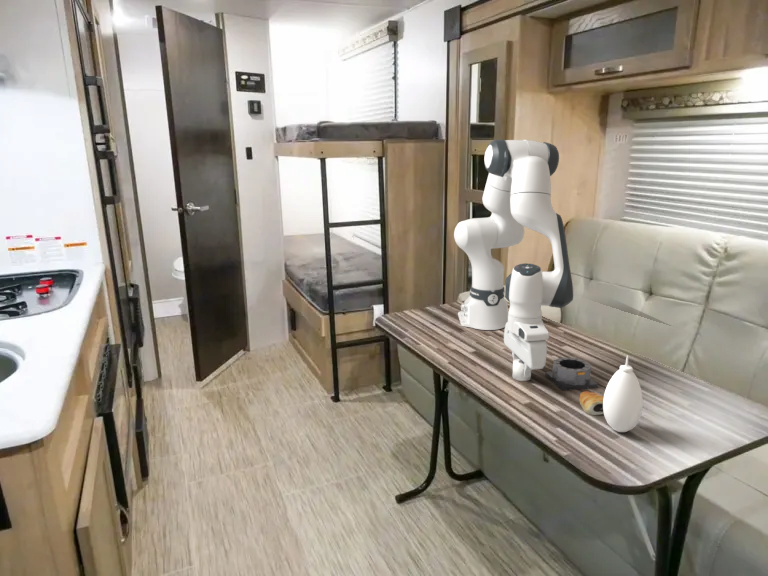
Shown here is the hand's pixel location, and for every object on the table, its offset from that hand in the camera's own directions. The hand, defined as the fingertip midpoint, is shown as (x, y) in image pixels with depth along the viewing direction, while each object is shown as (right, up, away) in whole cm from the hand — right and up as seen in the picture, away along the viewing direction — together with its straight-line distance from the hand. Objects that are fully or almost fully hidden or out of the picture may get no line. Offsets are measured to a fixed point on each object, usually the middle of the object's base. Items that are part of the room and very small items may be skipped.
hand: (521, 371), depth 144 cm
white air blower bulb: (+15, -9, -28) cm, 33 cm away
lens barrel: (+13, -2, -3) cm, 13 cm away
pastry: (+13, -6, -17) cm, 22 cm away
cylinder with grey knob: (0, -2, 0) cm, 2 cm away
